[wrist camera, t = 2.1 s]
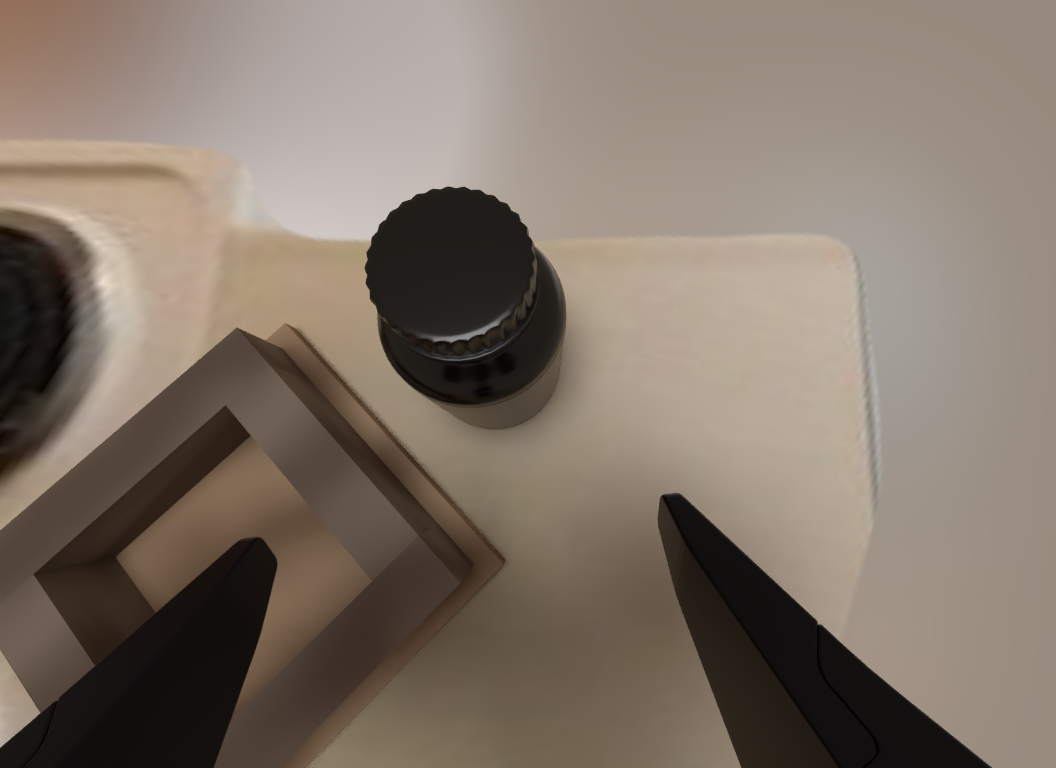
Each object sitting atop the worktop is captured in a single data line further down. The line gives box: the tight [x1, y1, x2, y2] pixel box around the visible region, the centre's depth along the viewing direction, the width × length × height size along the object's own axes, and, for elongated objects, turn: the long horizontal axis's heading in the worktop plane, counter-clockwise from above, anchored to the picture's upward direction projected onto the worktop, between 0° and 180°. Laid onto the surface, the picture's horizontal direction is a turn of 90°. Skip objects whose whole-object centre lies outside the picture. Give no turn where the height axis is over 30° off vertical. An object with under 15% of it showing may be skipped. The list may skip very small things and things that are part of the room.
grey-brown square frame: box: [0, 323, 505, 768], centre depth 20 cm, size 17×17×4 cm
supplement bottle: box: [365, 187, 566, 429], centre depth 18 cm, size 7×7×12 cm
